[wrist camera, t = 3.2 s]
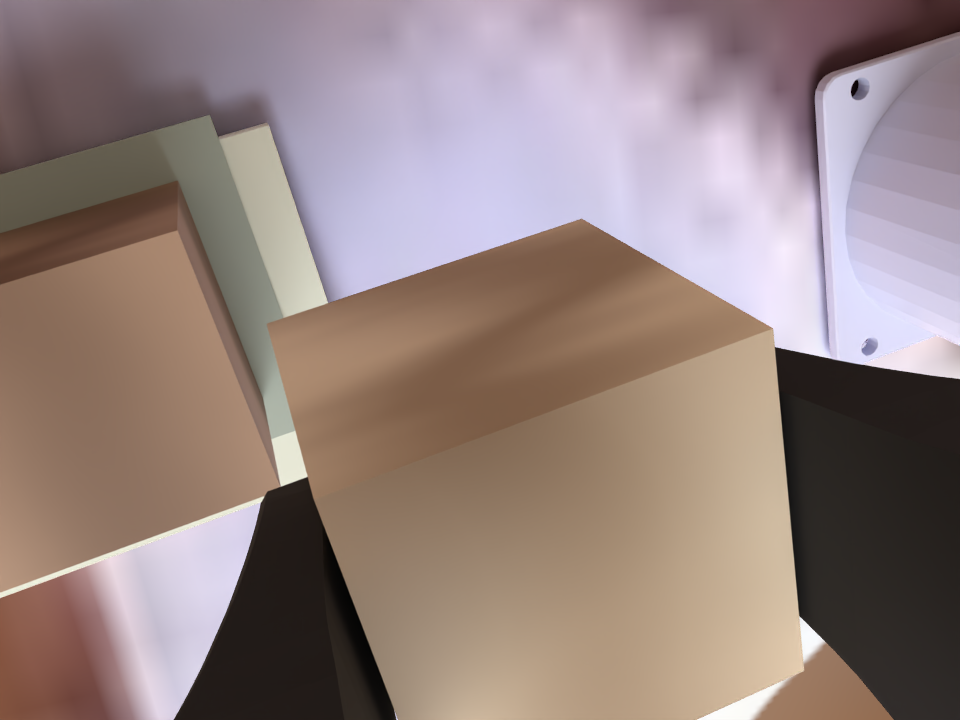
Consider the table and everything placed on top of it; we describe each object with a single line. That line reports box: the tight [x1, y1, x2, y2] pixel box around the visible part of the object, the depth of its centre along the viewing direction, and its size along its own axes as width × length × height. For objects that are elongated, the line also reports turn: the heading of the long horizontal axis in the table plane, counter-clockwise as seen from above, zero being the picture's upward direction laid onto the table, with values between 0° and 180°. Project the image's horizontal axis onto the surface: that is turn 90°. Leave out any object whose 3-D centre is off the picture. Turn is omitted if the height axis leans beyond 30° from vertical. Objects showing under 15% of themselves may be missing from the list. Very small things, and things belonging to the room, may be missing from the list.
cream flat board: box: [0, 114, 328, 598], centre depth 18 cm, size 11×8×1 cm
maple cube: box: [267, 219, 804, 720], centre depth 11 cm, size 4×4×4 cm
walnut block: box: [0, 181, 281, 593], centre depth 16 cm, size 5×5×4 cm
